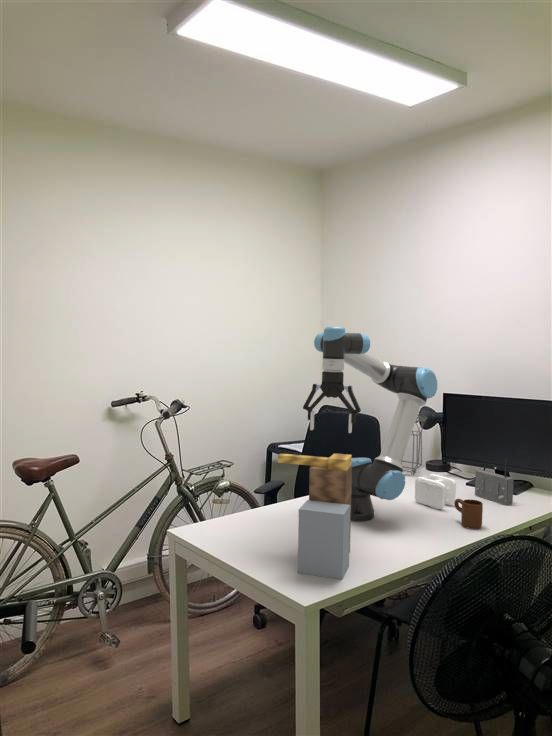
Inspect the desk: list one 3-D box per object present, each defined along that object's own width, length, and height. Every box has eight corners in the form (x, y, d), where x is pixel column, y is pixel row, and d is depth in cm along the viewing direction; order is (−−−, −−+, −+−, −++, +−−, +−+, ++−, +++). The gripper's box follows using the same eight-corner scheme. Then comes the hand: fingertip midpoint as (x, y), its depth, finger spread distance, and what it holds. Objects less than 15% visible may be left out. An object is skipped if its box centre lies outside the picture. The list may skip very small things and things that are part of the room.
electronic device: (512, 504, 252) (514, 458, 251) (502, 506, 249) (504, 460, 247) (479, 494, 267) (481, 451, 266) (469, 496, 264) (471, 452, 262)
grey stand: (297, 572, 179) (298, 509, 178) (306, 560, 189) (307, 500, 187) (342, 579, 175) (343, 514, 173) (348, 566, 184) (350, 504, 183)
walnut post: (307, 558, 191) (309, 468, 188) (315, 547, 200) (317, 461, 198) (343, 563, 187) (346, 471, 185) (349, 551, 196) (352, 464, 194)
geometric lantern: (395, 468, 313) (399, 404, 311) (425, 472, 306) (429, 407, 304) (387, 474, 299) (391, 407, 297) (418, 479, 292) (422, 410, 290)
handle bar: (275, 464, 193) (275, 453, 193) (282, 459, 201) (282, 449, 200) (346, 470, 186) (346, 460, 185) (351, 465, 193) (351, 454, 193)
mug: (447, 521, 228) (448, 498, 228) (460, 518, 233) (461, 495, 232) (473, 530, 218) (474, 506, 218) (486, 527, 223) (487, 503, 222)
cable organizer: (457, 507, 247) (458, 480, 246) (441, 511, 241) (442, 484, 240) (428, 498, 259) (429, 472, 258) (413, 502, 253) (413, 476, 252)
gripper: (295, 369, 203) (293, 430, 204) (367, 373, 196) (364, 435, 197) (300, 368, 210) (299, 426, 212) (370, 372, 203) (367, 432, 205)
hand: (330, 431), depth 205 cm, fingers open, 13 cm apart
